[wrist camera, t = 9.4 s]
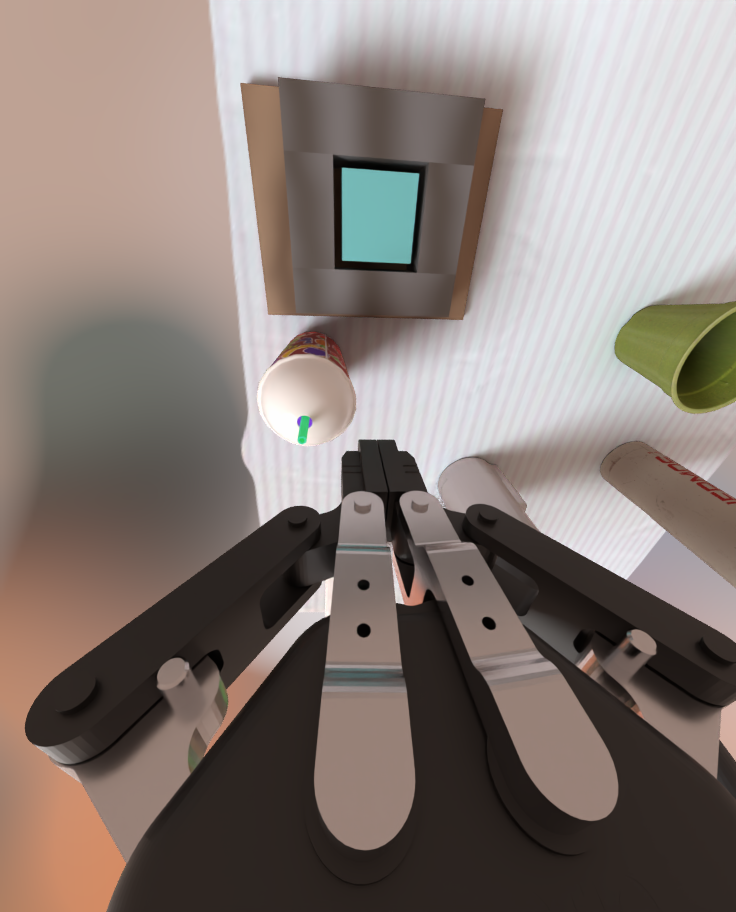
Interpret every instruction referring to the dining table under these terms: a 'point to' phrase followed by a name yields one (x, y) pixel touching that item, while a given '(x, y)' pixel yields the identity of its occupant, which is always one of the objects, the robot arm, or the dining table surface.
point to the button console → (372, 148)
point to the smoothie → (307, 392)
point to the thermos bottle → (677, 503)
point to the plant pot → (684, 352)
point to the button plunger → (377, 215)
